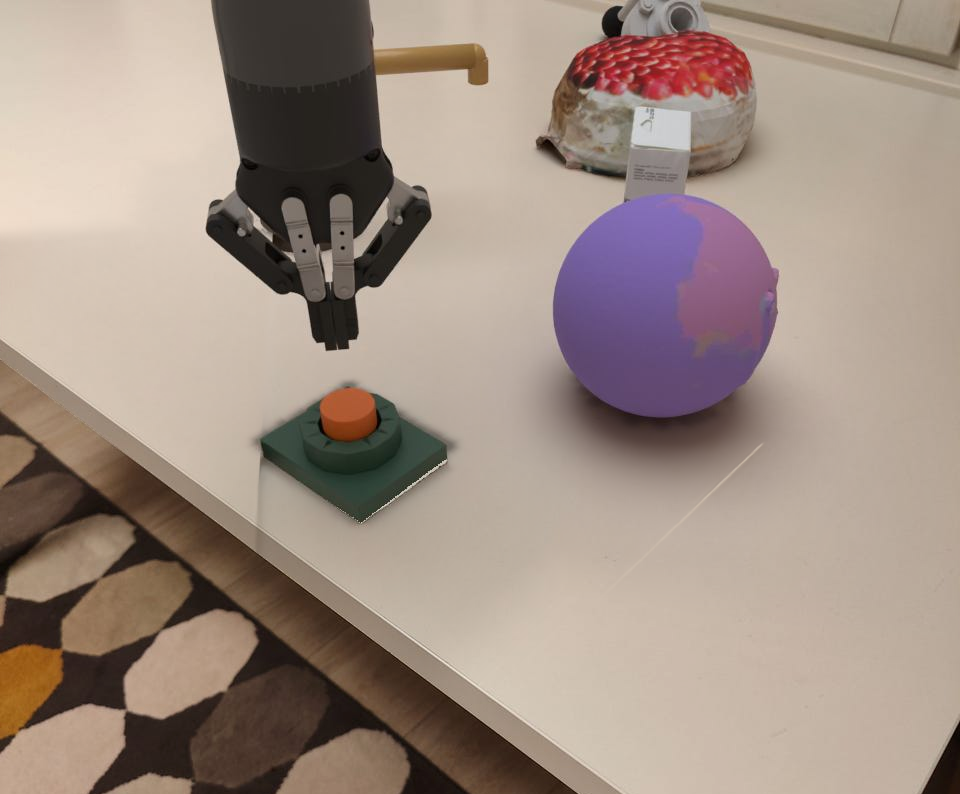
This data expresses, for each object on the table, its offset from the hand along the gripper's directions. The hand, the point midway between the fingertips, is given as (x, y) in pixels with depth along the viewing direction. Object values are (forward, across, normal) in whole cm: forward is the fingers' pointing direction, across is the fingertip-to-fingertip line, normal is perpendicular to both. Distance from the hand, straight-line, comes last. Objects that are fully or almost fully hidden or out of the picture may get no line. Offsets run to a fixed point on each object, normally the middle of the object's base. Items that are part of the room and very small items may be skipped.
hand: (337, 342), depth 59 cm
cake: (+10, +33, +50) cm, 61 cm away
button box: (+10, 0, 0) cm, 10 cm away
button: (+7, 0, 0) cm, 7 cm away
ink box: (+10, +27, +24) cm, 37 cm away
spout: (-3, +5, +34) cm, 34 cm away
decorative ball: (+10, +22, +4) cm, 24 cm away
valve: (+10, +39, +72) cm, 82 cm away
